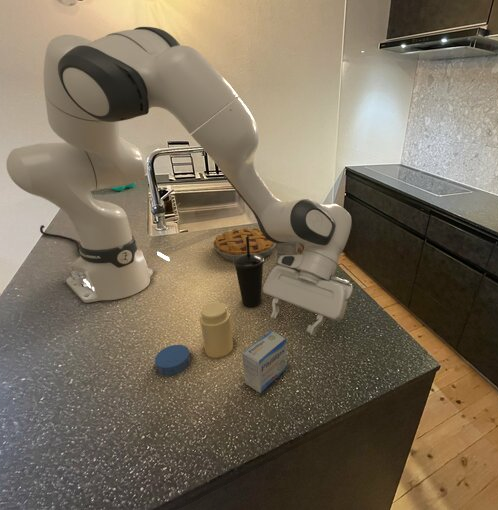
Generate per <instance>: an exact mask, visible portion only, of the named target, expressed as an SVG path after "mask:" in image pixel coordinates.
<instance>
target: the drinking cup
mask: <svg viewBox="0 0 498 510" xmlns="http://www.w3.org/2000/svg"><path fill="white" fill-rule="evenodd" d="M246 245H247V253H245V254H241V255H238V256H237V257H235V258H234V260H233V261H232V262H233V266H234V268H235V272H236V276H237V282H238V287H239V292H240V297H241V302H242V305H243V306H244V307H245V308H249V309H253V308H257V307H259V306H260V304H261V302H262V290H263V287H262V285H263V272H264V271H263V269H264V263H265V257H264V258H263V256H261V255H259V254H256V253H250V249H249V237H246Z"/></svg>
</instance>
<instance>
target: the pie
mask: <svg viewBox="0 0 498 510" xmlns="http://www.w3.org/2000/svg"><path fill="white" fill-rule="evenodd" d="M246 237H249V249H250V253H256V254H259V255H261V256H263V258H264V259H265V258H267V256H270V255H271V253H272V251H273V249H274V248H275V246H276V243H274V242H271V241H269V240H268V239H267V238H266V237H265V236H264V235H263V234H262V232H261V230H260V229H259V228H252V229H248V228H247V227H246V228H245V227H244V228H241V229H237V228H235V229H232V230H231V231H225V232H222V233H221V234H218V235H216V237H215V239H214V240H213V242H212V243H213V248H214V249H215V250H216V251H217V252H218V253H219V255H220V256H221V257H222V258H224V259H225V260H227V261H229V262H233V260H234V258H235V257H237V256H238V255H241V254H245V253H247V245H246Z"/></svg>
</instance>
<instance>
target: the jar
mask: <svg viewBox="0 0 498 510" xmlns="http://www.w3.org/2000/svg"><path fill="white" fill-rule="evenodd" d="M227 308H228V307H227V305H226V304H225V303H223V302H221V301H213V302H209V303H206V304H205V305H204V306H202V307H201V310H200V316H199V325H200V330H201V336H202V342H203V348H204V352H205V355H206V356H207V357H209V358H214V359H217V358H223V357H226V356H227V355H228V354H230V353H231V352H232V350H233V348H234V340H233V330H232V321H231V313H230V312H229V311H228V309H227Z"/></svg>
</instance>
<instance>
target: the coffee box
mask: <svg viewBox="0 0 498 510" xmlns="http://www.w3.org/2000/svg"><path fill="white" fill-rule="evenodd" d="M275 246H276V266H278V265H280V264H279V263H278V259H279V257H280V256H282V255H302V252H303V250H304V245H303V244H301V243H292V242H288V243H276V244H275Z"/></svg>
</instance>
